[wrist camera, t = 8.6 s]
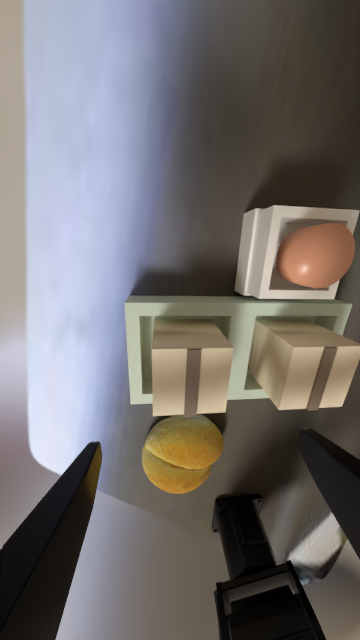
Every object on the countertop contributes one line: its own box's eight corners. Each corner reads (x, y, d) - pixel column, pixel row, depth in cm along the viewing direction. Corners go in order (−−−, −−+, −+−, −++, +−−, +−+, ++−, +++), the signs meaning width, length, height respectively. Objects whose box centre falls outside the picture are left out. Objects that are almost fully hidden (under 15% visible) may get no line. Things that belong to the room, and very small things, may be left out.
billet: (207, 368, 19) (226, 414, 14) (154, 369, 18) (152, 418, 13) (211, 319, 17) (235, 349, 12) (154, 319, 17) (151, 350, 11)
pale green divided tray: (304, 379, 21) (322, 395, 19) (134, 385, 19) (130, 404, 17) (327, 297, 18) (352, 303, 16) (129, 295, 16) (124, 302, 14)
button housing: (298, 291, 18) (335, 302, 14) (234, 290, 17) (255, 301, 13) (315, 217, 16) (363, 206, 12) (243, 213, 15) (271, 201, 11)
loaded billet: (294, 366, 20) (344, 408, 14) (246, 367, 19) (280, 412, 14) (306, 319, 18) (367, 347, 13) (254, 319, 18) (295, 348, 12)
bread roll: (229, 417, 22) (244, 451, 18) (196, 471, 25) (203, 511, 21) (161, 399, 20) (161, 432, 17) (132, 459, 23) (127, 500, 19)
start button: (319, 283, 14) (344, 288, 12) (271, 283, 14) (289, 288, 12) (333, 228, 13) (363, 224, 11) (281, 225, 12) (303, 221, 11)
